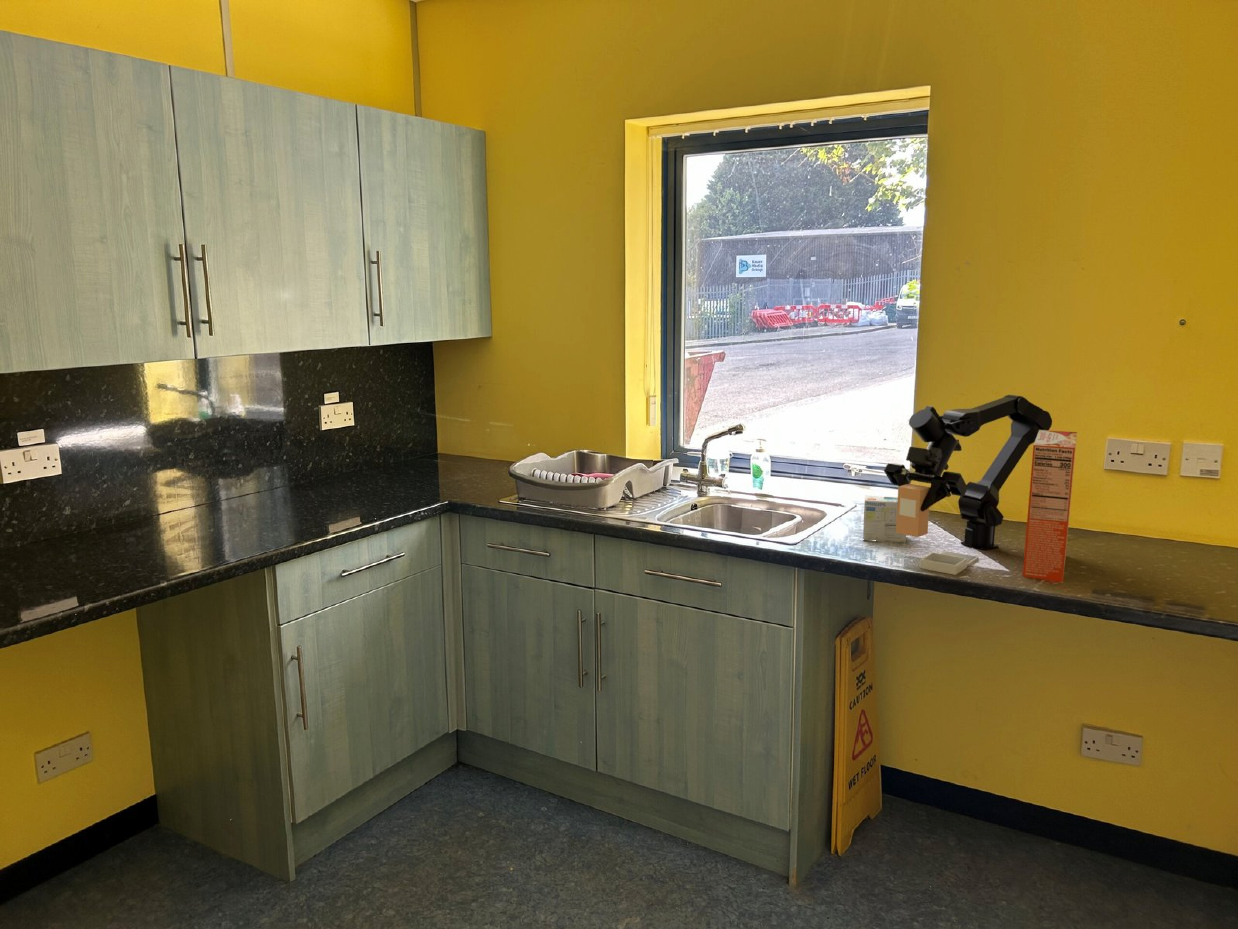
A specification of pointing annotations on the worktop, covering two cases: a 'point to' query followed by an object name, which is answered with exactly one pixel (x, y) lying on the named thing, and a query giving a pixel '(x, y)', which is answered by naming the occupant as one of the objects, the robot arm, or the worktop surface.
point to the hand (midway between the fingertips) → (909, 508)
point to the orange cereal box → (1049, 505)
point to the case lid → (969, 558)
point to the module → (912, 510)
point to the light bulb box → (881, 519)
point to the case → (943, 563)
